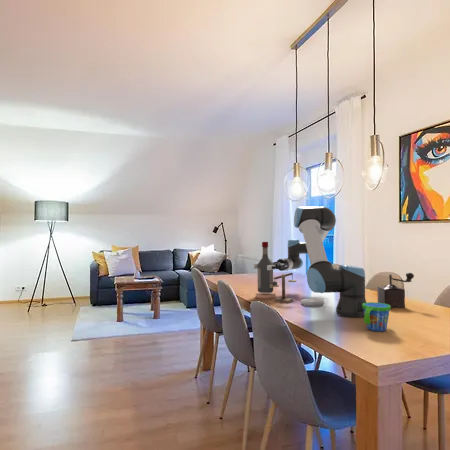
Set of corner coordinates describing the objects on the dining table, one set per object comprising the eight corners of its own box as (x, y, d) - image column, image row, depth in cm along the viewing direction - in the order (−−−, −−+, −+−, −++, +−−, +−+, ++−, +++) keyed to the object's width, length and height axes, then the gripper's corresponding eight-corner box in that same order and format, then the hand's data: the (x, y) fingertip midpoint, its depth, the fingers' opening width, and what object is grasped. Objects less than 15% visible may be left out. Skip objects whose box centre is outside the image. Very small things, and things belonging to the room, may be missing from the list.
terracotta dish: (278, 296, 219) (278, 293, 219) (270, 299, 209) (270, 296, 209) (261, 294, 225) (261, 291, 225) (252, 297, 215) (252, 294, 215)
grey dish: (326, 303, 197) (326, 299, 197) (319, 307, 187) (319, 303, 187) (305, 301, 204) (305, 297, 204) (297, 305, 194) (297, 301, 194)
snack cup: (376, 323, 155) (376, 300, 155) (399, 329, 147) (399, 304, 147) (353, 329, 147) (353, 304, 147) (376, 336, 138) (376, 309, 138)
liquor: (257, 292, 213) (256, 242, 213) (258, 290, 222) (258, 241, 222) (273, 292, 212) (272, 242, 212) (273, 290, 221) (272, 241, 221)
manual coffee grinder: (385, 308, 184) (385, 273, 185) (376, 303, 196) (376, 270, 196) (416, 308, 184) (415, 273, 185) (405, 303, 195) (404, 270, 196)
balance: (298, 301, 202) (298, 272, 202) (294, 303, 197) (293, 273, 197) (273, 299, 211) (273, 270, 211) (269, 300, 206) (268, 271, 206)
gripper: (298, 271, 220) (275, 275, 206) (270, 268, 238) (247, 271, 223) (298, 259, 220) (275, 262, 206) (270, 257, 238) (247, 259, 223)
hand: (260, 267), depth 214 cm, fingers closed on liquor, 10 cm apart
